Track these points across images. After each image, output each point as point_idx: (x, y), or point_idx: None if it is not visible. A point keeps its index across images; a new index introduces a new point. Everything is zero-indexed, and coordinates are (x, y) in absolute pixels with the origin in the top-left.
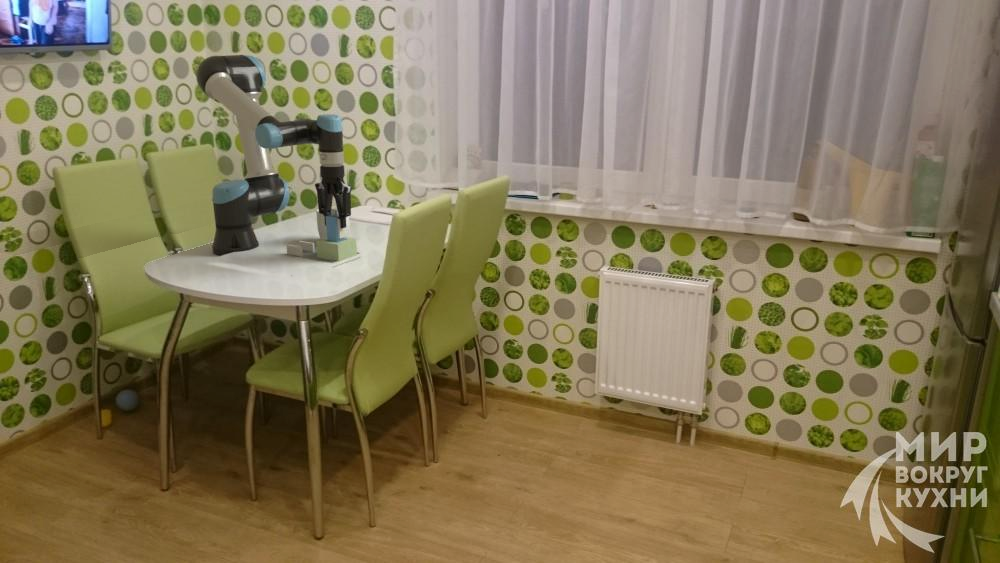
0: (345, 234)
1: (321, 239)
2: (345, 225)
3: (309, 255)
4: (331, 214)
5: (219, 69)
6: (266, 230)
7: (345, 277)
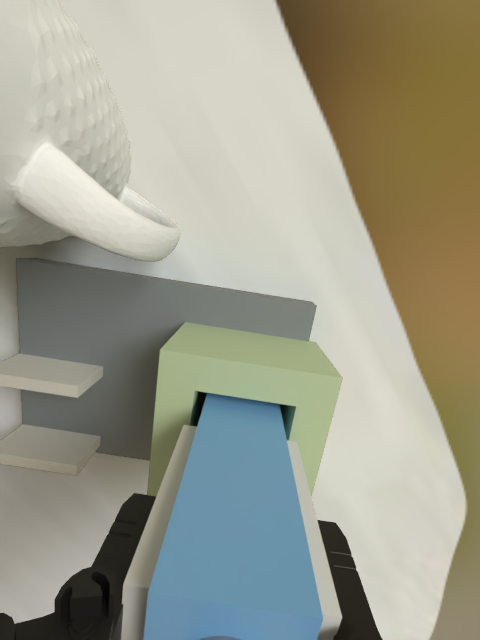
0: (176, 240)
1: (150, 463)
2: (346, 553)
3: (122, 422)
4: (107, 574)
5: None
6: None
7: (379, 541)
